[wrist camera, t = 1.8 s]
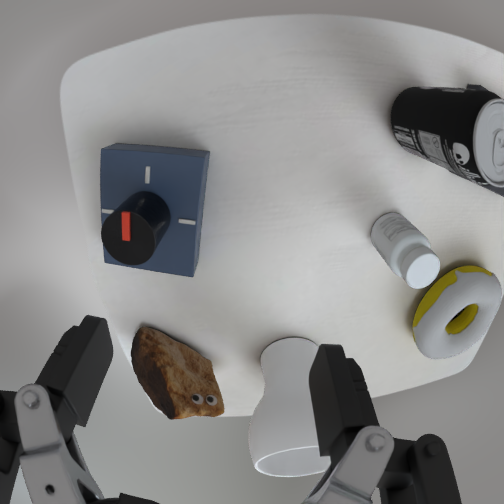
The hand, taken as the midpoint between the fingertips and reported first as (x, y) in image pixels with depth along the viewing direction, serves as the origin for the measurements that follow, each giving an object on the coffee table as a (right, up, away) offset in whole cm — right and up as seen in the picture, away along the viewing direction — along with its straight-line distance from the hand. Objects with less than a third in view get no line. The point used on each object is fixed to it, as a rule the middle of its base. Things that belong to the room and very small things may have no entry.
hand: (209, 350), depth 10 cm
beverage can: (+17, +16, +12) cm, 26 cm away
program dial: (-7, +7, +14) cm, 17 cm away
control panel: (-7, +8, +16) cm, 20 cm away
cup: (+7, -10, +26) cm, 29 cm away
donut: (+28, -3, +23) cm, 36 cm away
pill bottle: (+16, +6, +18) cm, 24 cm away
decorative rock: (-7, -9, +26) cm, 28 cm away
